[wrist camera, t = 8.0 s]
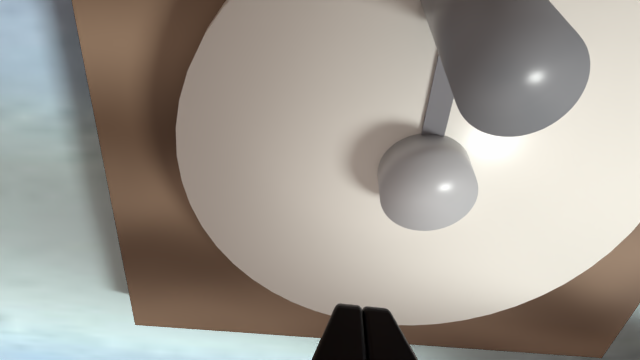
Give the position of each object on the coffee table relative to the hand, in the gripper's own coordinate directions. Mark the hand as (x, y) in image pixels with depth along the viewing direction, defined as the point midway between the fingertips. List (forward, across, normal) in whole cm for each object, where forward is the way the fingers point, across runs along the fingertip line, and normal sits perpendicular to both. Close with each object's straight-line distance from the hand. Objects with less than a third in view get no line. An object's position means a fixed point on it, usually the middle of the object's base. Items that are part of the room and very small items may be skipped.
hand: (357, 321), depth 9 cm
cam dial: (+10, -3, +2) cm, 10 cm away
